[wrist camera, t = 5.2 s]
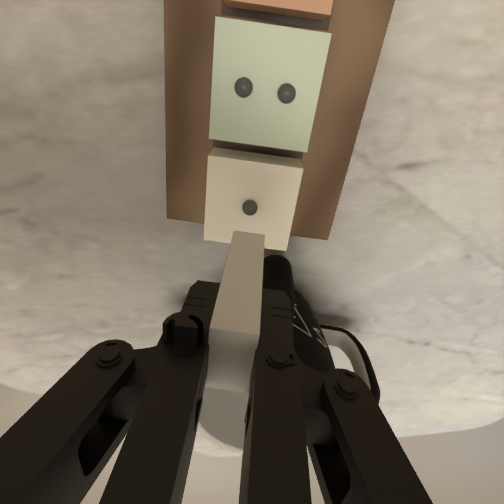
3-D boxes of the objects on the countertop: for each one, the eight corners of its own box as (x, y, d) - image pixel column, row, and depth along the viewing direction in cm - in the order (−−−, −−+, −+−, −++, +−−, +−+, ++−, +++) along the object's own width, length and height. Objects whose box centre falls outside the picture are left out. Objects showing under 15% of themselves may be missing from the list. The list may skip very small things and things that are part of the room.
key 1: (209, 225, 25) (202, 241, 22) (214, 147, 22) (207, 156, 19) (284, 235, 25) (286, 253, 22) (300, 159, 22) (303, 170, 19)
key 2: (215, 131, 21) (208, 139, 19) (221, 22, 18) (214, 15, 16) (303, 144, 21) (307, 153, 19) (324, 37, 18) (332, 32, 16)
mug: (365, 333, 35) (404, 443, 25) (245, 378, 40) (236, 486, 30) (294, 218, 29) (308, 302, 18) (162, 290, 34) (113, 388, 23)
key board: (173, 209, 29) (166, 218, 27) (172, -153, 18) (161, -178, 16) (324, 229, 29) (327, 240, 27) (416, -114, 18) (433, -135, 16)
